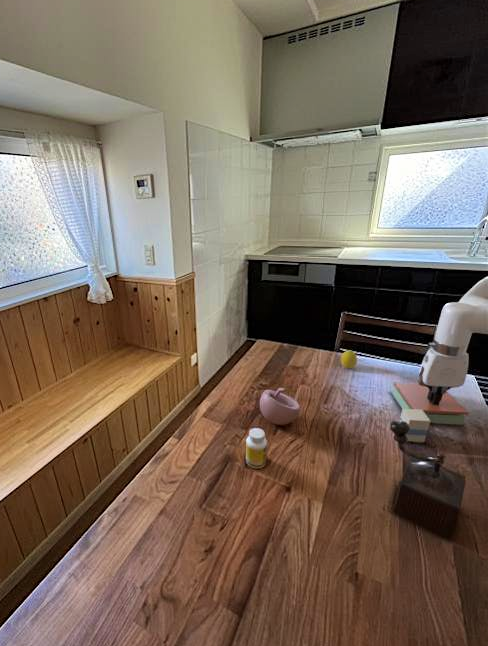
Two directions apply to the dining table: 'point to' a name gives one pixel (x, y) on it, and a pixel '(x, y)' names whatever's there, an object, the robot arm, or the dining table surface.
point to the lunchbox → (432, 416)
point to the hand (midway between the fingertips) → (433, 402)
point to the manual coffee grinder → (427, 489)
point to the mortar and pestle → (278, 407)
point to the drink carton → (416, 424)
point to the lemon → (348, 359)
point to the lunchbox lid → (418, 400)
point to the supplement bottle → (256, 448)
